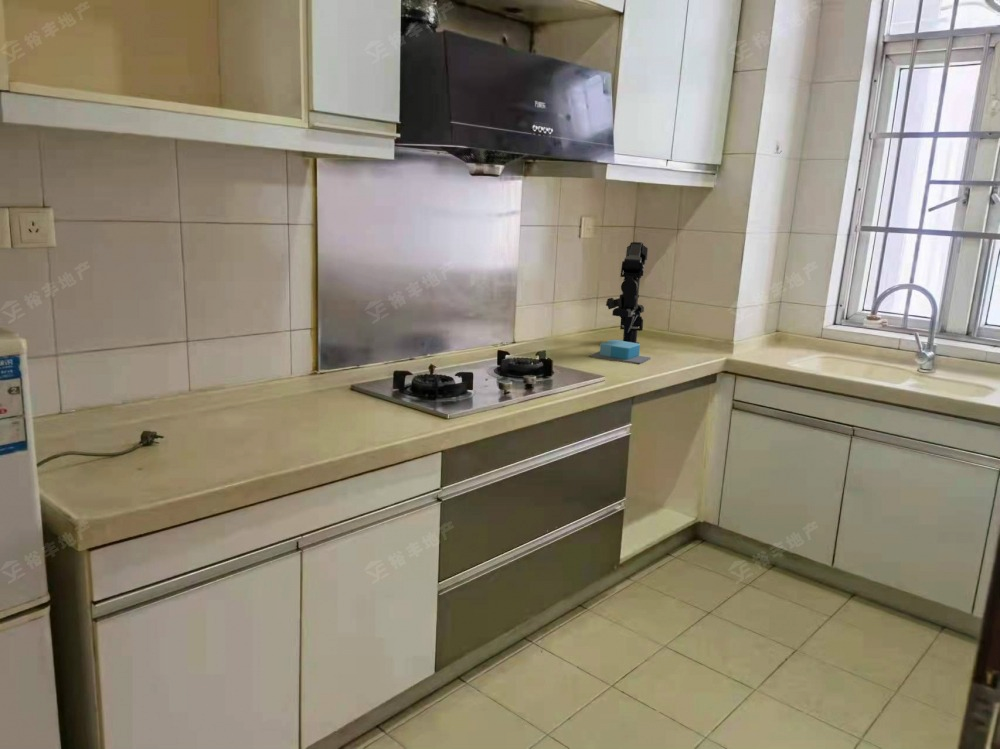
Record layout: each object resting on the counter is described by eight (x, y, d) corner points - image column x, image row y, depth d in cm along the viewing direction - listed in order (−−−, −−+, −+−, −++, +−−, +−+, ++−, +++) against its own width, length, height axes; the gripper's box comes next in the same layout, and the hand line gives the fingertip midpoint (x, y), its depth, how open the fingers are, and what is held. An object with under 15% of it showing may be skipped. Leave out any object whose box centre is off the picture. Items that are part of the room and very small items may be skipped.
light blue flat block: (612, 350, 295) (598, 355, 286) (613, 339, 294) (599, 343, 285) (640, 355, 289) (626, 360, 279) (641, 343, 288) (627, 348, 278)
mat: (601, 351, 295) (601, 350, 295) (650, 359, 286) (650, 357, 286) (589, 356, 285) (589, 355, 285) (639, 364, 276) (640, 362, 276)
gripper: (618, 288, 296) (615, 327, 299) (600, 292, 280) (597, 333, 283) (645, 290, 290) (642, 330, 294) (629, 295, 275) (625, 336, 278)
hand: (626, 332), depth 288 cm, fingers closed
